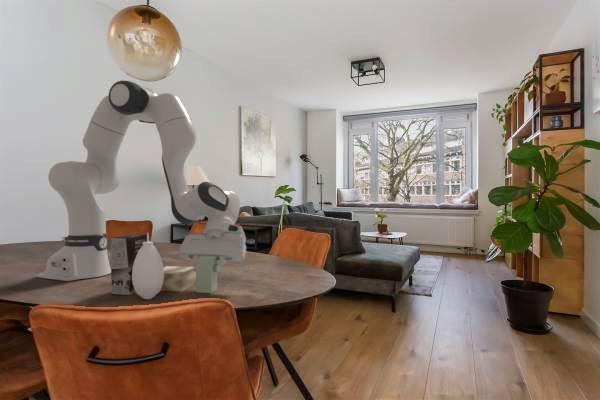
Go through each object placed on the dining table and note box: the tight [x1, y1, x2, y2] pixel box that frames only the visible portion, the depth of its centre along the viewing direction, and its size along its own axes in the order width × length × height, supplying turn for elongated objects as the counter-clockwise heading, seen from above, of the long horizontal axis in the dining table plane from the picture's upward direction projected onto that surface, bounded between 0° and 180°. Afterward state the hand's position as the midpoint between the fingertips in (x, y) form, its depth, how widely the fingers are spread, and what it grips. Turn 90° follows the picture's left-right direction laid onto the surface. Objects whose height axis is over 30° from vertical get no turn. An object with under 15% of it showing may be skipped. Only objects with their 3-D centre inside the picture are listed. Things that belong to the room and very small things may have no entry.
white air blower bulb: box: [132, 232, 164, 300], centre depth 94 cm, size 8×8×18 cm
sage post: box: [195, 255, 218, 294], centre depth 102 cm, size 4×4×10 cm
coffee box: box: [110, 233, 147, 296], centre depth 102 cm, size 9×6×16 cm
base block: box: [160, 265, 196, 292], centre depth 107 cm, size 10×10×5 cm
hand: (205, 270), depth 101 cm, fingers closed on sage post, 4 cm apart
